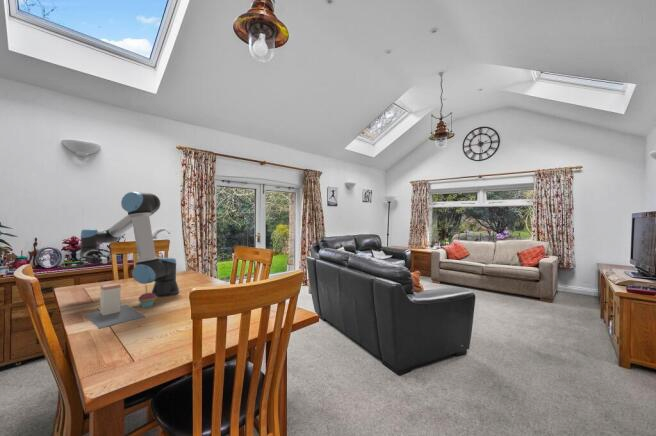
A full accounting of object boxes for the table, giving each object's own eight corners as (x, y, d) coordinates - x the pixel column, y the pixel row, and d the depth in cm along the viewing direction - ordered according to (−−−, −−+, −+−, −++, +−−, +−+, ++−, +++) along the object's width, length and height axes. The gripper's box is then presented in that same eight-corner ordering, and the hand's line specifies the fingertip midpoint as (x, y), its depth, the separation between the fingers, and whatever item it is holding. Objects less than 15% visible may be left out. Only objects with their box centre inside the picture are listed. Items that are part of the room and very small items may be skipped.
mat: (83, 314, 135) (83, 313, 135) (126, 305, 150) (126, 304, 150) (98, 329, 118) (98, 328, 118) (145, 317, 133) (145, 316, 133)
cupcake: (135, 307, 147) (135, 285, 147) (151, 302, 155) (151, 281, 155) (143, 309, 143) (144, 287, 143) (160, 305, 151) (160, 283, 151)
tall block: (100, 313, 136) (100, 285, 136) (117, 309, 142) (117, 283, 142) (103, 315, 133) (103, 287, 133) (120, 311, 139) (120, 284, 139)
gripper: (107, 261, 163) (120, 266, 148) (78, 264, 152) (89, 269, 138) (107, 249, 162) (120, 252, 148) (78, 251, 152) (89, 255, 138)
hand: (105, 260), depth 143 cm, fingers closed
